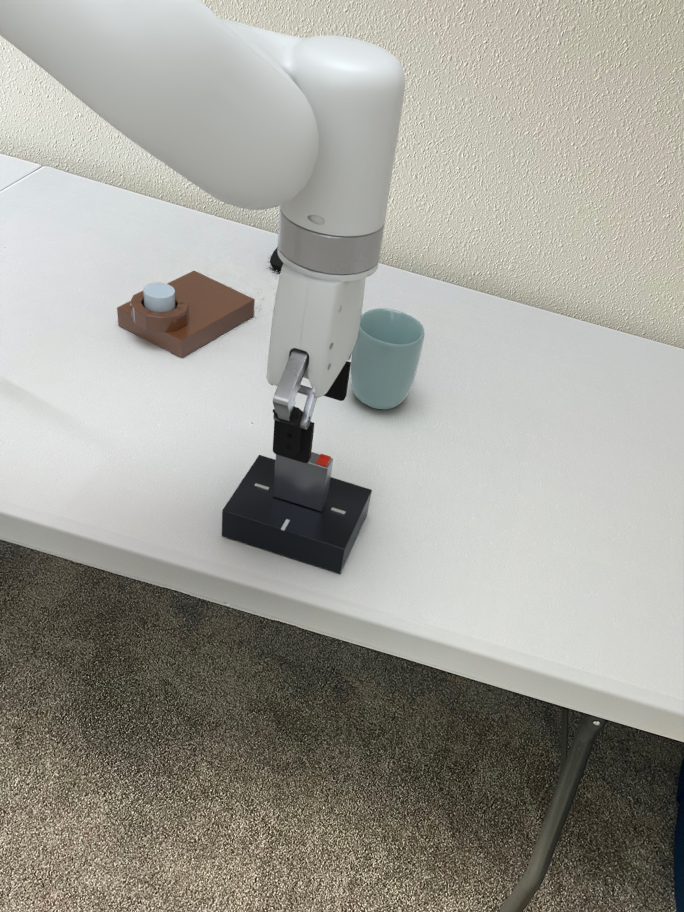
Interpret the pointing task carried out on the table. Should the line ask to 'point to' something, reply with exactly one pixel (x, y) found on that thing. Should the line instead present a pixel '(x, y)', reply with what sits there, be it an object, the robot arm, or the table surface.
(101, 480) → the table surface
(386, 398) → the cup
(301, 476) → the tap knob
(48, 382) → the table surface
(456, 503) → the table surface
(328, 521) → the plate
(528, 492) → the table surface
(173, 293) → the pale blue short cylinder
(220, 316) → the brown mounting plate
